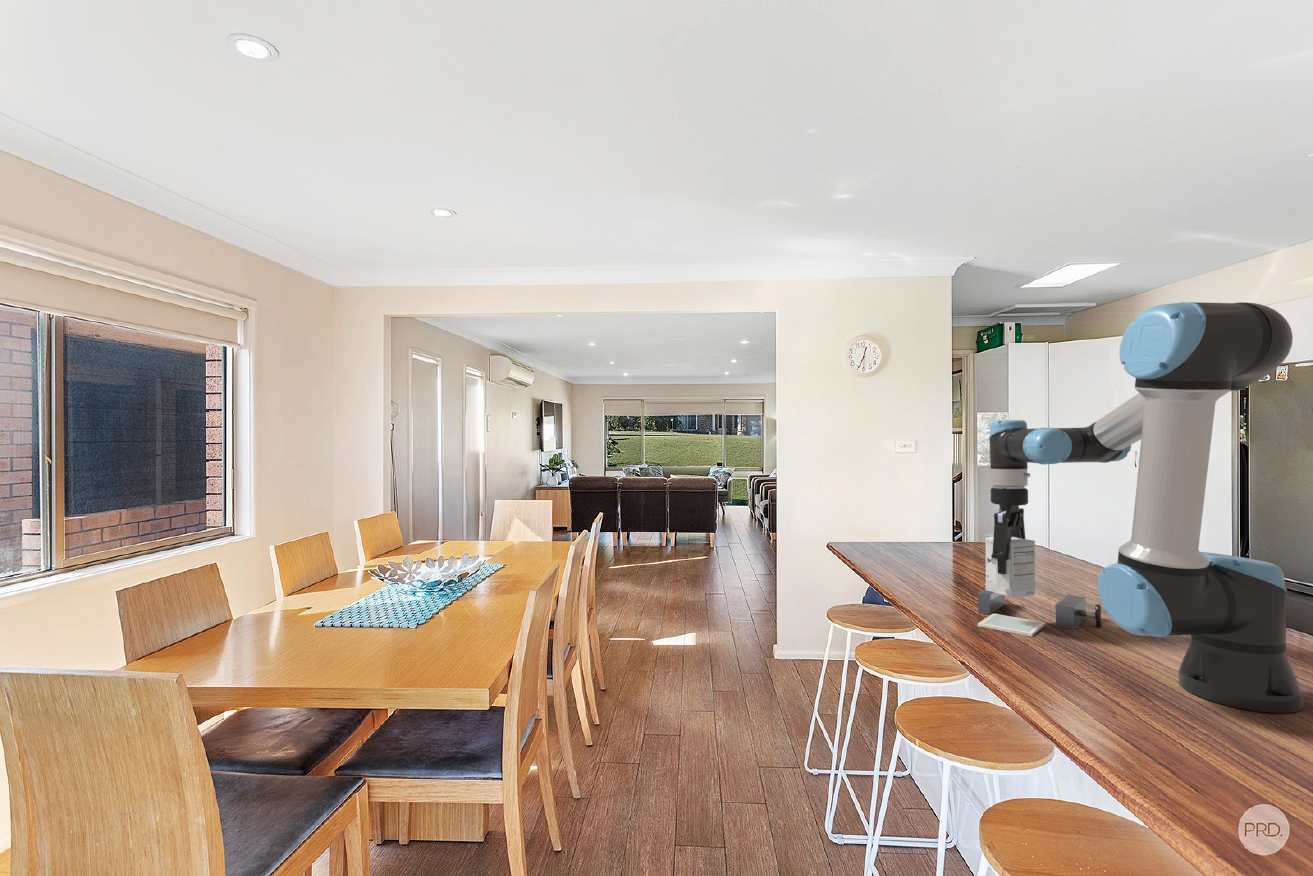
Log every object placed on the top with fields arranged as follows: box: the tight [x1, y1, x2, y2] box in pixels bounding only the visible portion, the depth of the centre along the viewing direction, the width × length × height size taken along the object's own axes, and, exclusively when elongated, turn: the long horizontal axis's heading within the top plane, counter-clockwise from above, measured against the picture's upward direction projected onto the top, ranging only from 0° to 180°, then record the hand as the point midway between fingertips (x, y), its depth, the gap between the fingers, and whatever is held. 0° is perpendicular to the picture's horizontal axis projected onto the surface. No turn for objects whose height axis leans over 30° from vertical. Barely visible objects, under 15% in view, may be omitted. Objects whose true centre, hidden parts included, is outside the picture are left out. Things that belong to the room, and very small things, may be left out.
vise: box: [977, 588, 1102, 631], centre depth 148 cm, size 12×24×5 cm, turn 45°
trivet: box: [977, 613, 1046, 637], centre depth 142 cm, size 11×11×1 cm
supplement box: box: [985, 536, 1036, 599], centre depth 142 cm, size 7×7×13 cm
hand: (1010, 583), depth 142 cm, fingers closed on supplement box, 9 cm apart
